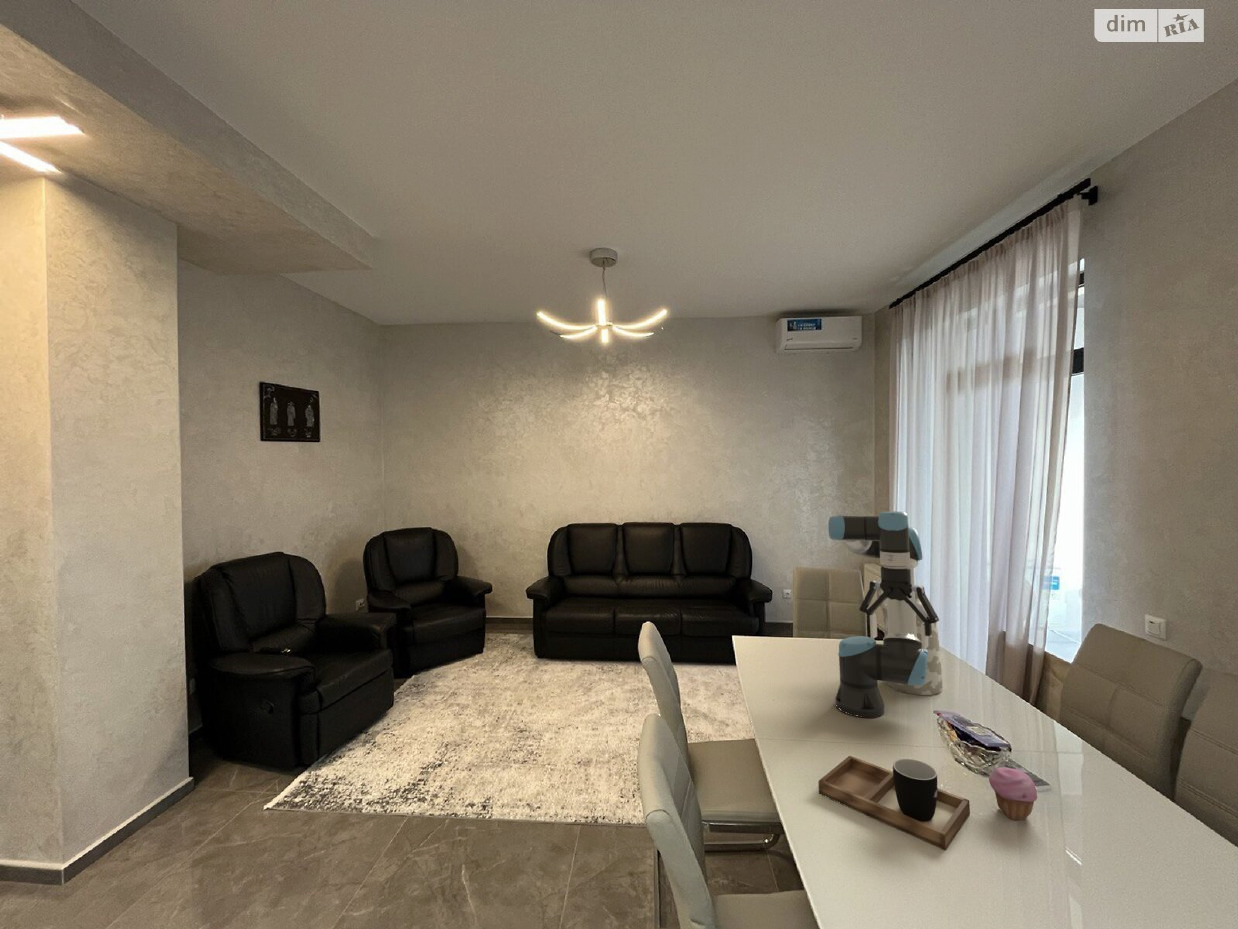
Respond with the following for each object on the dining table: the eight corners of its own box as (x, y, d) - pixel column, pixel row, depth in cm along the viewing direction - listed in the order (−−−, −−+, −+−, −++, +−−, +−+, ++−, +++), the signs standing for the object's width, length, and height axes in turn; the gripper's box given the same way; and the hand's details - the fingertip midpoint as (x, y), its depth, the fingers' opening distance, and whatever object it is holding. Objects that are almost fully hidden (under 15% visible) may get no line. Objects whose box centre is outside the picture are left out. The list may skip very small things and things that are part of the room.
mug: (942, 829, 115) (940, 782, 116) (897, 821, 119) (894, 775, 119) (932, 798, 127) (930, 755, 127) (891, 791, 130) (889, 749, 130)
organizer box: (819, 794, 131) (818, 781, 131) (849, 767, 143) (849, 755, 143) (945, 850, 110) (944, 834, 110) (969, 814, 122) (969, 800, 122)
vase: (935, 679, 201) (931, 578, 203) (948, 698, 184) (943, 588, 185) (877, 674, 208) (873, 577, 209) (884, 692, 190) (879, 586, 192)
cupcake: (982, 803, 126) (980, 760, 126) (1019, 802, 125) (1017, 760, 126) (1008, 827, 117) (1006, 781, 117) (1048, 827, 117) (1046, 781, 117)
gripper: (845, 563, 156) (848, 636, 155) (940, 573, 137) (944, 655, 136) (856, 560, 161) (860, 630, 160) (949, 569, 142) (953, 648, 141)
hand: (898, 642), depth 148 cm, fingers open, 13 cm apart
